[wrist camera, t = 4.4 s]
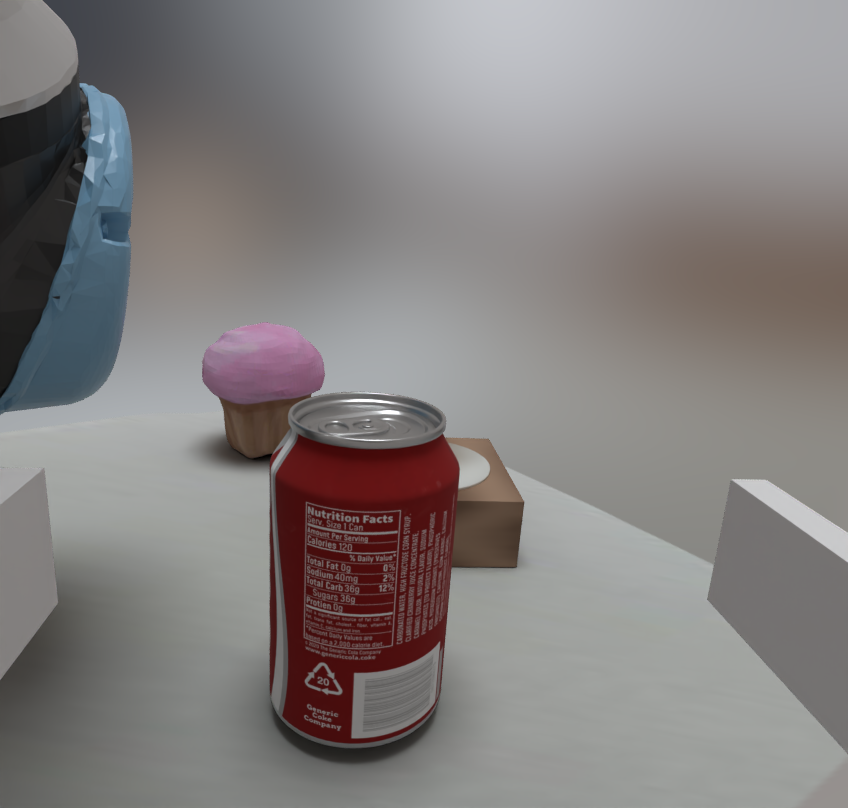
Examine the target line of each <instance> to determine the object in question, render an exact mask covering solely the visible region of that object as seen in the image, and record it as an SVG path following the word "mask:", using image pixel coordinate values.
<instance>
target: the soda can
mask: <svg viewBox="0 0 848 808" xmlns="http://www.w3.org/2000/svg"><path fill="white" fill-rule="evenodd" d="M288 421H289V425H290V427H291V428H290V430H289V431H288V432H287V434H286V435H285V437H284V438H283V439H282V441H281V442H280V444H279V445H278V446H277V448H276V449H275V451H274V452H273V454H272V456H271V460H270V697H271V701H272V704H273V707H274V709H275V711H276V713H277V714H278V716H279V717H280V718H281V720H282V721H283V722H284V723H285V724H286V725H287V726H288V727H289V728H291V729H292V730H293V731H295V732H296V733H298V734H299V735H301V736H303V737H305V738H307V739H309V740H311V741H314V742H317V743H320V744H323V745H327V746H332V747H338V748H352V749H356V748H369V747H375V746H380V745H384V744H388V743H391V742H394V741H396V740H399V739H401V738H403V737H405V736H407V735H409V734H410V733H412V732H413V731H415V730H416V729H417V728H419V727H420V726H421V725H422V724H423V723H425V722H426V720H427V719H428V718H429V717H430V716H431V714H432V713H433V711H434V709H435V708H436V706H437V703H438V700H439V697H440V692H441V680H442V669H443V658H444V646H445V635H446V624H447V612H448V601H449V589H450V578H451V567H452V555H453V544H454V533H455V521H456V510H457V498H458V487H459V476H460V467H459V462H458V460H457V458H456V456H455V454H454V453H453V451H452V449H451V447H450V446H449V444H448V442H447V440H446V439H445V437H444V435H443V432H444V431H445V427H446V417H445V415H444V414H443V412H442V411H440V410H439V409H438V408H436V407H435V406H433V405H430V404H428V403H426V402H423V401H420V400H417V399H413V398H409V397H405V396H400V395H394V394H386V393H374V392H341V393H331V394H325V395H319V396H314V397H311V398H307V399H305V400H302V401H300V402H298V403H296V404H295V405H294V406H292V407H291V408H290V410H289V414H288Z"/></svg>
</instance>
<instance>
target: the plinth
mask: <svg viewBox="0 0 848 808" xmlns="http://www.w3.org/2000/svg"><path fill="white" fill-rule="evenodd" d="M445 439H446V440H447V442H448V444H449V446H450V447H451V449H452V451H453V453H454V454H455V456H456V458H457V460H458V462H459V467H460V476H459V487H458V498H457V510H456V521H455V533H454V544H453V555H452V567H517V558H518V550H519V542H520V533H521V525H522V517H523V508H524V501H523V499H522V497H521V495H520V494H519V492H518V490H517V488H516V486H515V485H514V483H513V481H512V479H511V478H510V476H509V474H508V472H507V470H506V469H505V467H504V465H503V463H502V462H501V460H500V458H499V456H498V455H497V453H496V451H495V449H494V447H493V446H492V444H491V442H490V440H489V439H474V438H473V439H472V438H471V439H470V438H445Z"/></svg>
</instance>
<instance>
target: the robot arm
mask: <svg viewBox="0 0 848 808" xmlns="http://www.w3.org/2000/svg"><path fill="white" fill-rule="evenodd" d="M132 165H133V164H132V147H131V138H130V132H129V126H128V123H127V118H126V114H125V111H124V109H123V107H122V106H121V105H120V104H119V102H118V101H117V100H116V99H115V98H114V97H113V96H110V95H108V94H105V93H101V92H99V90H98V89H96V88H95V87H94V86H87V84H82V83H79V69H78V54H77V47H76V43H75V39H74V37H73V35H72V34H71V32H70V30H69V28H68V27H67V26H66V25H65V23H64V22H63V21H62V20H61V19H60V18H59V17H58V16H57V15H56V14H55V13H54V12H53V11H52V10H51V9H50V8H49V7H48V6H47V5H46V4H45V3H44V2H43V1H42V0H0V415H1V414H3V413H4V412H9V411H17V410H27V409H35V408H43V407H51V406H59V405H68V404H72V403H76V402H78V401H81V400H84V399H85V398H87V397H89V396H91V395H92V394H94V393H95V392H96V391H97V390H98V389H99V388H101V386H102V385H103V384H104V383H105V382H106V380H107V378H108V377H109V375H110V373H111V371H112V369H113V366H114V364H115V361H116V357H117V354H118V350H119V346H120V342H121V337H122V332H123V326H124V319H125V312H126V304H127V296H128V286H129V276H130V259H131V244H130V238H129V235H128V231H129V228H130V226H131V209H132V200H133V166H132ZM707 600H708V601H709V602H710V603H711V604H712V605H713V606H714V607H715V609H716V610H717V611H718V612H719V613H720V614H721V615H722V616H723V617H724V618H725V619H726V621H727V622H728V623H729V624H730V625H731V626H732V627H733V628H734V629H735V630H736V632H737V633H738V634H739V635H740V636H741V637H742V638H743V639H744V640H745V641H746V643H747V644H748V645H749V646H750V647H751V648H752V649H753V650H754V651H755V652H756V654H757V655H758V656H759V657H760V658H761V659H762V660H763V661H764V662H765V663H766V665H767V666H768V667H769V668H770V669H771V670H772V671H773V672H774V673H775V674H776V675H777V677H778V678H779V679H780V680H781V681H782V682H783V683H784V684H785V685H786V686H787V688H788V689H789V690H790V691H791V692H792V693H793V694H794V695H795V696H796V697H797V699H798V700H799V701H800V702H801V703H802V704H803V705H804V706H805V707H806V708H807V710H808V711H809V712H810V713H811V714H812V715H813V716H814V717H815V718H816V719H817V720H818V722H819V723H820V724H821V725H822V726H823V727H824V728H825V729H826V730H827V731H828V733H829V734H830V735H831V736H832V737H833V738H834V739H835V740H836V741H837V742H838V744H839V745H840V746H841V747H842V748H843V749H844V750H845V751H846V752H847V753H848V533H847V532H846V531H844V530H842V529H841V528H839V527H838V526H836V525H834V524H833V523H832V522H830V521H829V520H827V519H826V518H824V517H822V516H821V515H819V514H818V513H816V512H815V511H813V510H812V509H810V508H809V507H807V506H806V505H804V504H803V503H801V502H799V501H798V500H796V499H795V498H793V497H792V496H790V495H789V494H787V493H786V492H784V491H783V490H781V489H780V488H778V487H776V486H775V485H773V484H772V483H770V482H769V481H767V480H737V479H734V480H733V479H731V482H730V487H729V492H728V497H727V502H726V507H725V512H724V517H723V523H722V528H721V533H720V538H719V543H718V548H717V554H716V558H715V563H714V568H713V573H712V578H711V583H710V588H709V593H708V598H707ZM57 604H58V596H57V586H56V576H55V567H54V557H53V547H52V538H51V528H50V518H49V509H48V499H47V489H46V480H45V470H44V468H4V467H0V680H1V678H2V677H3V676H4V674H5V673H6V672H7V670H8V669H9V668H10V666H11V665H12V664H13V662H14V661H15V660H16V658H17V657H18V656H19V654H20V653H21V652H22V650H23V649H24V648H25V646H26V645H27V644H28V643H29V641H30V640H31V639H32V637H33V636H34V635H35V633H36V632H37V631H38V629H39V628H40V627H41V625H42V624H43V623H44V621H45V620H46V619H47V617H48V616H49V615H50V613H51V612H52V611H53V609H54V608H55V607H56V605H57Z"/></svg>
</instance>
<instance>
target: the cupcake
mask: <svg viewBox="0 0 848 808" xmlns="http://www.w3.org/2000/svg"><path fill="white" fill-rule="evenodd" d="M202 363H203V369H202V370H203V371H202V377H203V382H204V384H205V385H206V386H207V387H208V388H209V390H210V391H211V392H212V393H213V394H214V395H216V396H218V397H219V399H220V401H221V404H222V406H223V410H224V420H225V430H226V436H227V440H228V442H229V444H230V445H231V447H232V448H234V449H236V450H238V451H239V452H241V453H242V454H244V455H245V456H247V457H248V458H256V457H261V456H264V455H266V454H272V453H273V452H274V451H275V449H276V448H277V446H278V445H279V444H280V442H281V441H282V439H283V438H284V437H285V435H286V434H287V432H288V431H289V430H290V428H291V427H290V425H289V421H288V414H289V410H290V408H291V407H292V406H294V405H295V404H296V403H298V402H300V401H302V400H305V399H307V398H311V394H312V393H314V392H316V391H318V390H320V388H321V387H322V384H323V381H324V376H325V375H324V374H325V373H324V364H323V359H322V357H321V355H320V353H319V352H318V351H317V349H316V348H315V347H314V346H313V345H312V344H311V343H310V342H308V341H307V340H306V339H304V338H303V337H302V335H301V334H300V333H299V332H298V331H297V330H295V329H293V328H291V327H287V326H283V325H276V324H270V323H268V322H263V323H260V324H257V325H247V326H242V327H238V328H236V329H234V330H231V331H228V332H226V333H224V334H223V335H222V336H221V337H220V339H219V340H218V341H217V342H216V343H214V344H212V345H211V346H209V347H208V349H207V350H206V352H205V354H204V358H203V361H202Z"/></svg>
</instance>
